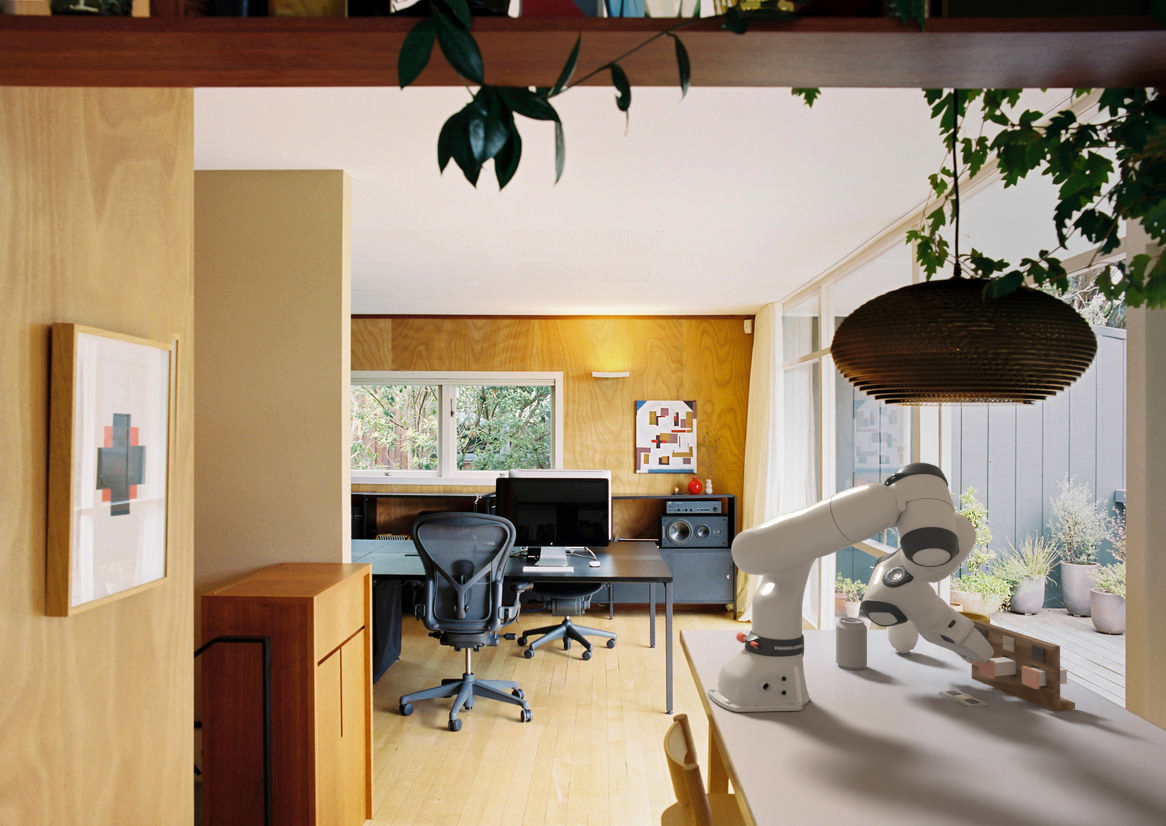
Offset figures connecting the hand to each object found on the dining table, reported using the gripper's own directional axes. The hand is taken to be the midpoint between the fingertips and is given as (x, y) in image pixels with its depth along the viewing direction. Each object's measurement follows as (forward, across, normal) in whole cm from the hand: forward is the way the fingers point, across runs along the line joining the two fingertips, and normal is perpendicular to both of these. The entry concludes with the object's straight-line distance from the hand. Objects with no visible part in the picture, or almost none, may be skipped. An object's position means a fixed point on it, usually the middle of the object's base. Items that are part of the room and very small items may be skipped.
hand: (971, 659), depth 182 cm
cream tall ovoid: (+5, -26, -3) cm, 27 cm away
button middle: (+2, +8, 0) cm, 8 cm away
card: (-3, +8, -11) cm, 14 cm away
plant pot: (+19, -23, +10) cm, 32 cm away
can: (-10, -19, -18) cm, 28 cm away
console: (+9, +8, 0) cm, 12 cm away
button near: (+4, +16, +3) cm, 17 cm away
